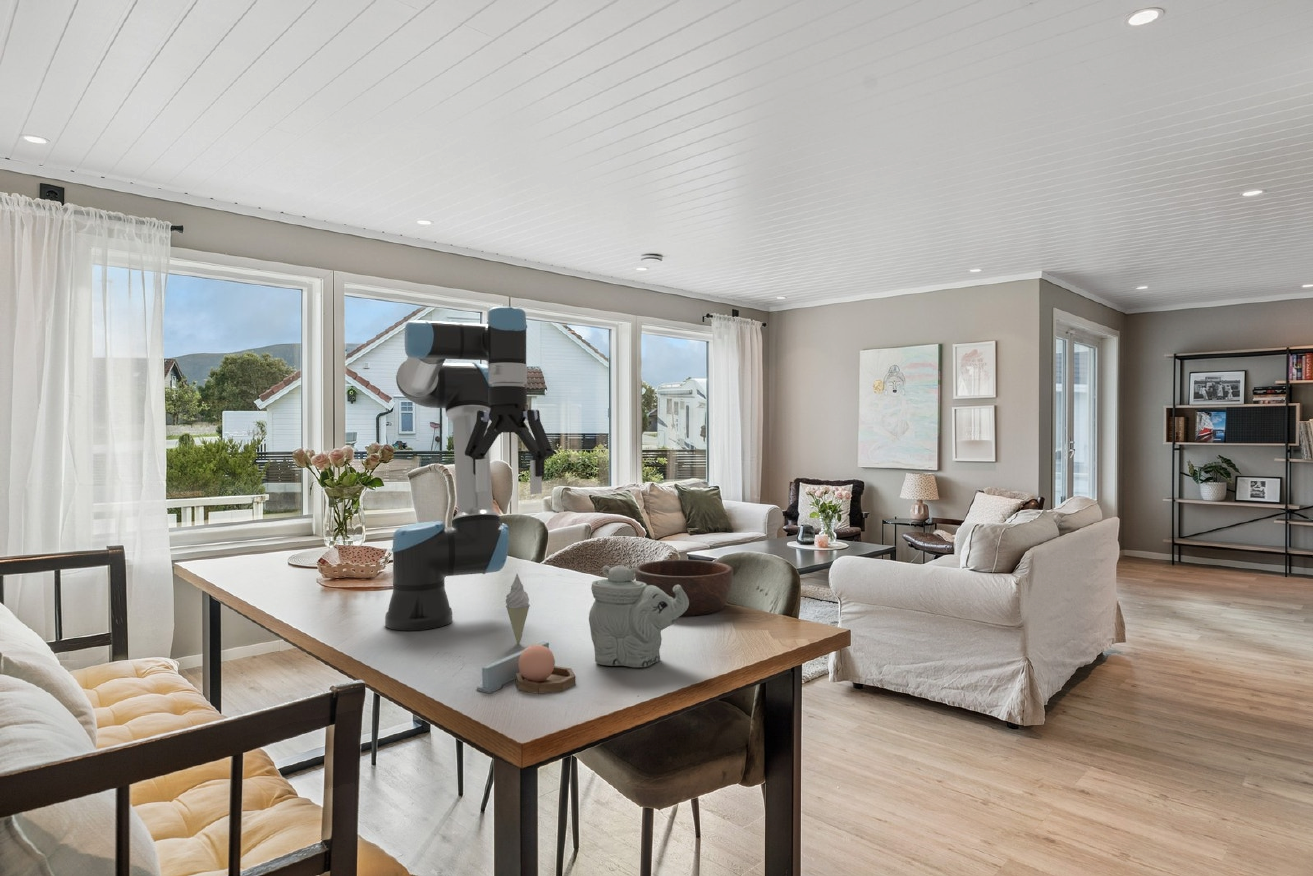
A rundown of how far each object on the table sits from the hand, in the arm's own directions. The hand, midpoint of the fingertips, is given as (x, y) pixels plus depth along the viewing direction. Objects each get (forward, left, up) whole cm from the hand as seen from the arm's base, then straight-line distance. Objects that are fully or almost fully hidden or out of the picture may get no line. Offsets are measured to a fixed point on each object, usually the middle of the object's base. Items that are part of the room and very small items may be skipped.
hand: (508, 492), depth 151 cm
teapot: (+25, +8, -33) cm, 42 cm away
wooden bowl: (+13, +54, -33) cm, 65 cm away
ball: (+16, -10, -32) cm, 37 cm away
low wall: (+9, -9, -33) cm, 35 cm away
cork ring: (+16, -10, -33) cm, 38 cm away
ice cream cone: (-4, +8, -33) cm, 34 cm away
